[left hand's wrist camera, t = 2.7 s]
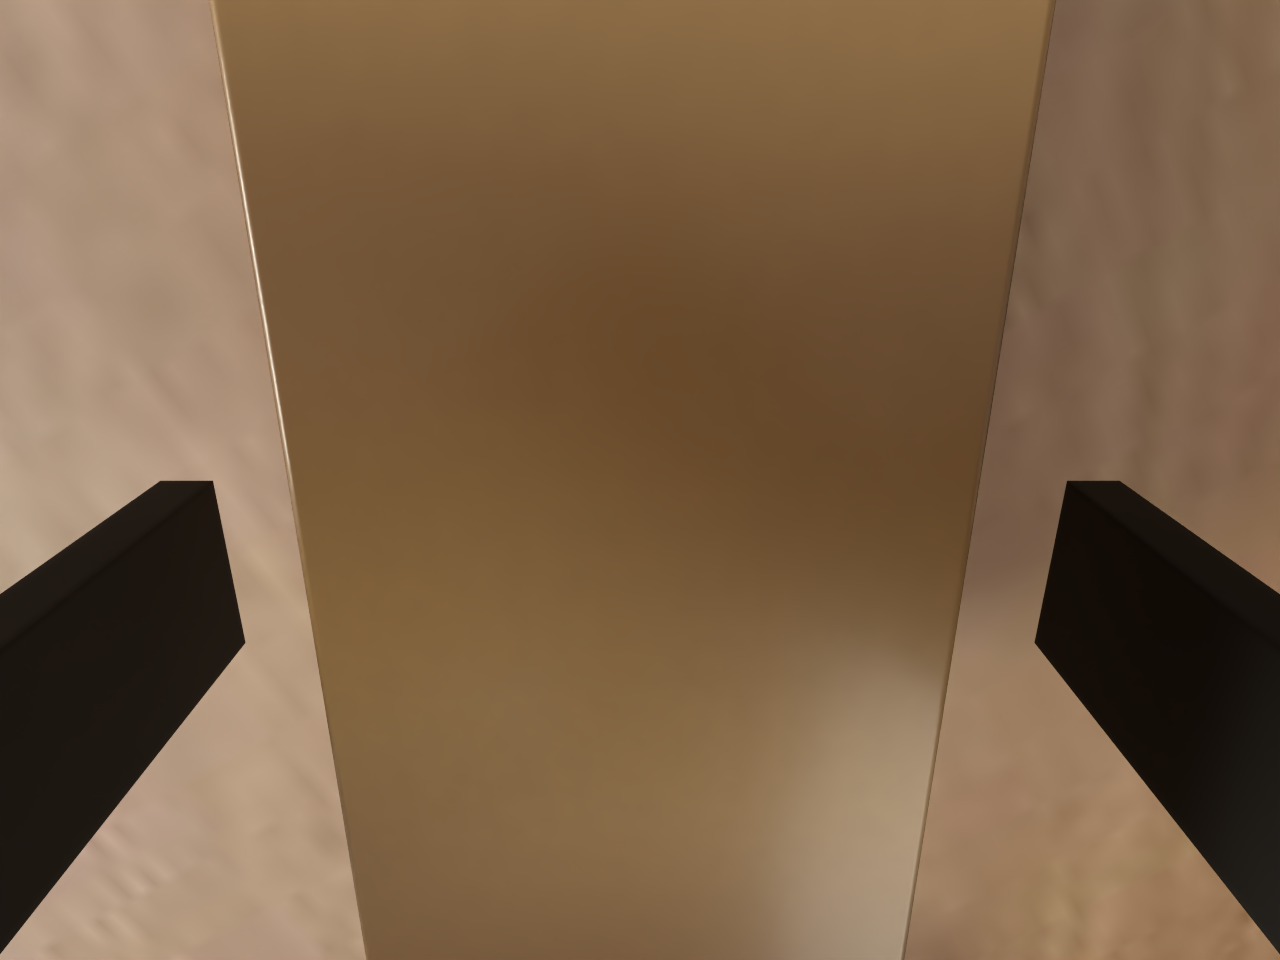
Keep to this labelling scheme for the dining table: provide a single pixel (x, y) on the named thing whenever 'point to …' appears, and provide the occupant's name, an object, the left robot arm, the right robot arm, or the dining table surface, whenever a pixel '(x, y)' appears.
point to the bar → (633, 444)
